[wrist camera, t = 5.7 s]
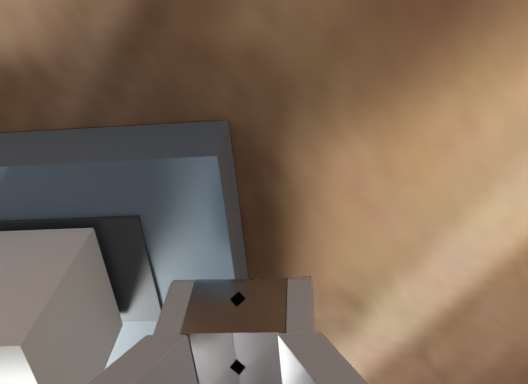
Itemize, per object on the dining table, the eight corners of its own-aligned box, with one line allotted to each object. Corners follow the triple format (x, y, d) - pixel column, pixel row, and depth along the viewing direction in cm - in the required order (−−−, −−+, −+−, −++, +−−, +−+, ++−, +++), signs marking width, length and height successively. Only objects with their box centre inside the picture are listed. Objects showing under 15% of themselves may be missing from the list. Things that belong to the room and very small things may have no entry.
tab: (93, 227, 11) (20, 345, 8) (122, 324, 13) (69, 454, 10) (-31, 232, 12) (-146, 348, 9) (11, 326, 13) (-73, 453, 10)
